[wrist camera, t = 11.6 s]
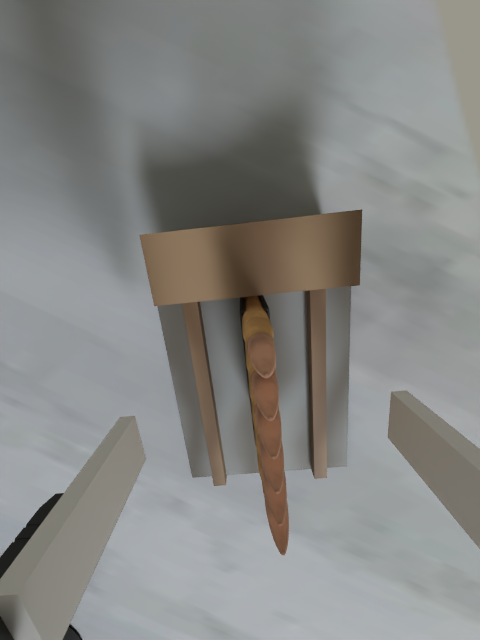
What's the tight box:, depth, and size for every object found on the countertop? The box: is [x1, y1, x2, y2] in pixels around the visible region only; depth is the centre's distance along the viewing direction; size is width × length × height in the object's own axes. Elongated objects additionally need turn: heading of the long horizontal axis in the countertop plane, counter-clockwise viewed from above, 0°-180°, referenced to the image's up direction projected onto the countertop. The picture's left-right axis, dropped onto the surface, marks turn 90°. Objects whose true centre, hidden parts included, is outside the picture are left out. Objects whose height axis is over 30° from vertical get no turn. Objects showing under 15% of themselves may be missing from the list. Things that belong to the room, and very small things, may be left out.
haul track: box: [140, 210, 362, 486], centre depth 19 cm, size 16×24×6 cm
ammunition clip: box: [240, 295, 289, 555], centre depth 15 cm, size 11×2×12 cm, turn 6°
